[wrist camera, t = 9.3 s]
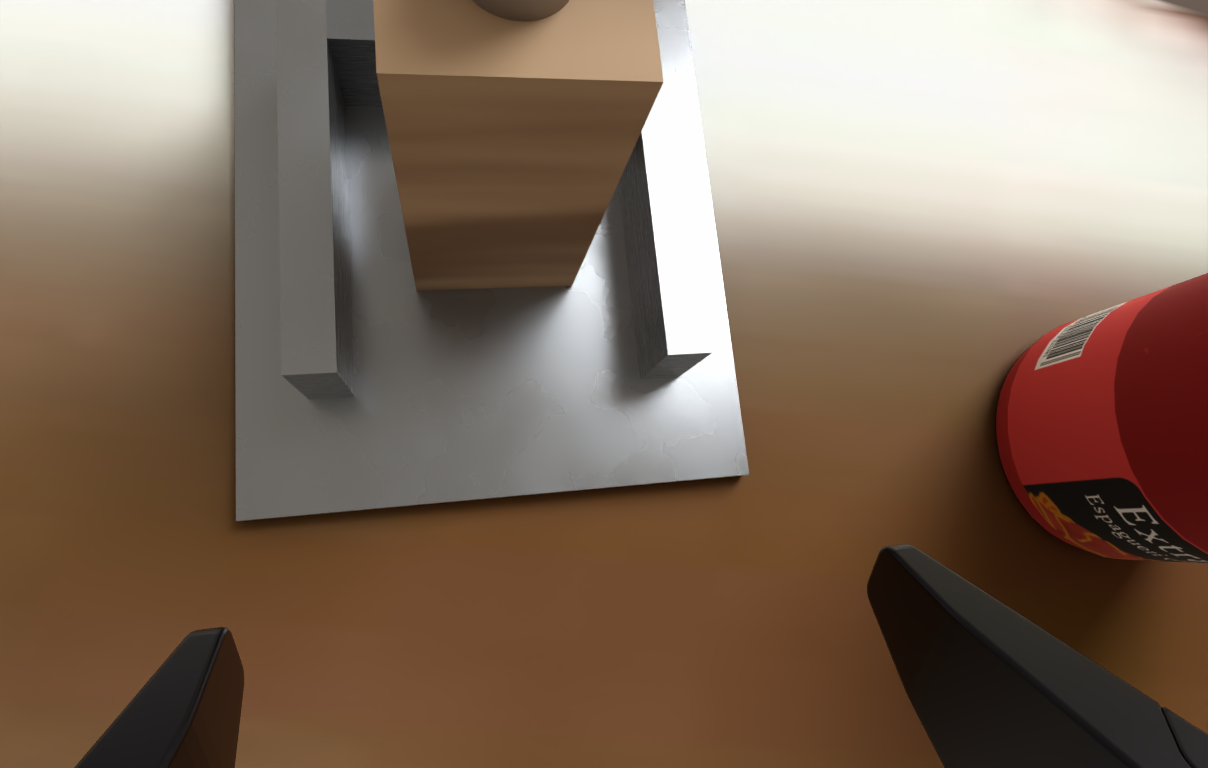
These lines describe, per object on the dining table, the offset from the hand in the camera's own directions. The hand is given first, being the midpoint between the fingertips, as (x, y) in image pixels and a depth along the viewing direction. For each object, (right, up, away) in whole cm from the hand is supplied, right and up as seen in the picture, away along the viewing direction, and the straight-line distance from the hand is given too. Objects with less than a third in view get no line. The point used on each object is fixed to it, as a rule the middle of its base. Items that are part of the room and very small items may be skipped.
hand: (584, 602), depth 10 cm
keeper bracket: (-3, +8, +12) cm, 14 cm away
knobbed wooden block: (-3, +8, +11) cm, 14 cm away
